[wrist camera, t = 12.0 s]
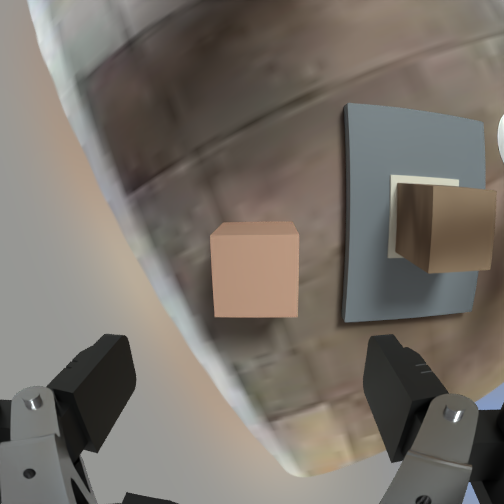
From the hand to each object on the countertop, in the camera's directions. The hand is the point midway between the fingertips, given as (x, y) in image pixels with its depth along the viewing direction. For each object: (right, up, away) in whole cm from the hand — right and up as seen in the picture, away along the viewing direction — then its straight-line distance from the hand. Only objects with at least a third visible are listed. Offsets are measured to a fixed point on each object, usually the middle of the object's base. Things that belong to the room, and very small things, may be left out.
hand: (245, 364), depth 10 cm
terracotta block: (+1, +3, +14) cm, 15 cm away
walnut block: (+13, +6, +11) cm, 18 cm away
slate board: (+13, +6, +13) cm, 19 cm away
